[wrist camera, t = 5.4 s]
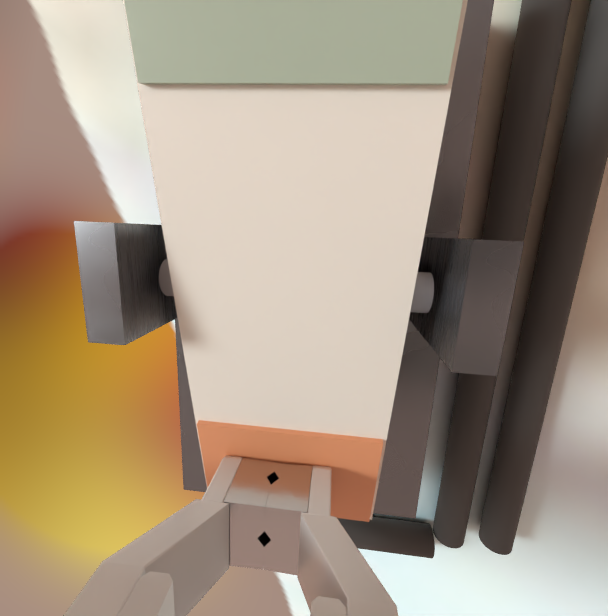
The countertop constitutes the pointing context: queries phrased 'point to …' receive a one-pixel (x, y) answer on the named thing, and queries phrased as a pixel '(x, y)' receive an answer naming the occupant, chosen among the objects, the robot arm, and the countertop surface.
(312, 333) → the block
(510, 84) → the grey railed fixture
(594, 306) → the countertop surface
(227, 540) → the robot arm
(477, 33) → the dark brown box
